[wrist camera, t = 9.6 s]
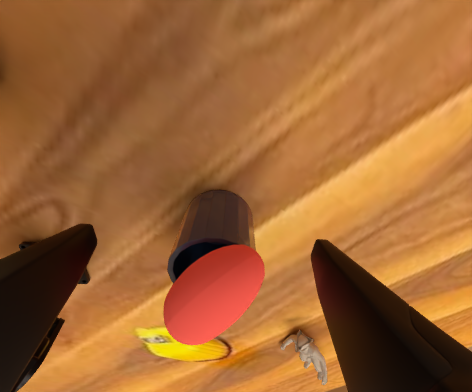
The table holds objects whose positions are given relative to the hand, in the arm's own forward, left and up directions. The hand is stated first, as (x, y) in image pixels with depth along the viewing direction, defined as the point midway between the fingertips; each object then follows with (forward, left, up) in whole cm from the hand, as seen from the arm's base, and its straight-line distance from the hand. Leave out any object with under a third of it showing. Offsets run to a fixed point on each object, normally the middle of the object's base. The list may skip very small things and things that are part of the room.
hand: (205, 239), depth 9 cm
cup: (-8, 0, -13) cm, 16 cm away
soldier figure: (-32, -15, -13) cm, 38 cm away
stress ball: (-8, 0, -6) cm, 10 cm away
